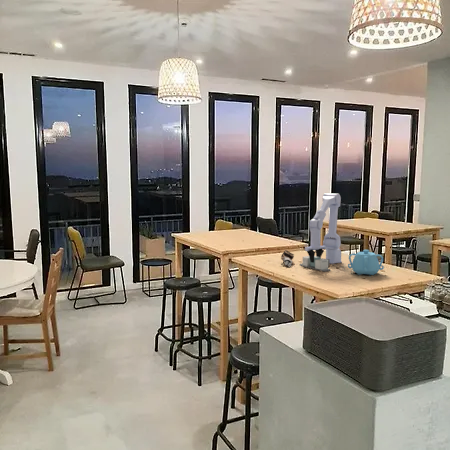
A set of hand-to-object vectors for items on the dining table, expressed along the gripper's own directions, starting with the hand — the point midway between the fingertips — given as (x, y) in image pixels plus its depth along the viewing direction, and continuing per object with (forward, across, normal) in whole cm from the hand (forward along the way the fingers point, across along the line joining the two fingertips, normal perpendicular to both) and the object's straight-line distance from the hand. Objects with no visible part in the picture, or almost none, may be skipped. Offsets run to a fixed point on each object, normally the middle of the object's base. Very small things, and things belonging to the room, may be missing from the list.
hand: (315, 261), depth 273 cm
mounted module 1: (+4, 0, +6) cm, 7 cm away
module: (+2, 0, 0) cm, 3 cm away
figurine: (+4, -8, +18) cm, 20 cm away
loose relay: (+4, +10, +4) cm, 11 cm away
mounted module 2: (+4, 0, -6) cm, 7 cm away
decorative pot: (+4, +15, -26) cm, 30 cm away
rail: (+4, 0, 0) cm, 4 cm away
